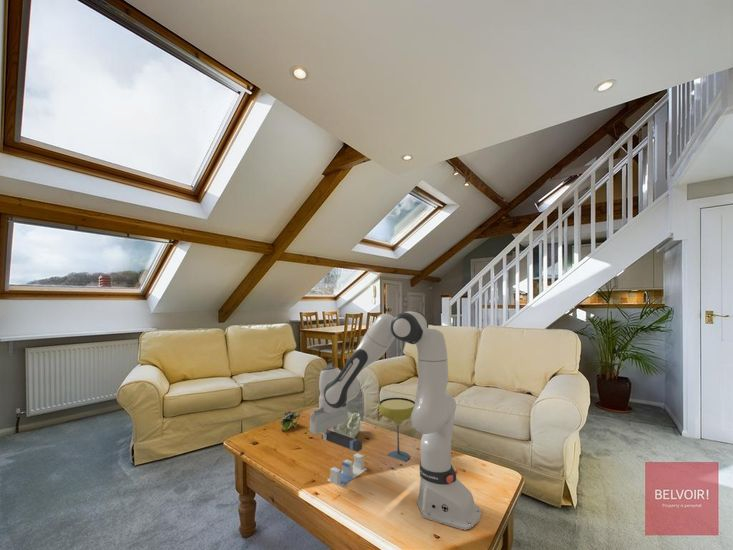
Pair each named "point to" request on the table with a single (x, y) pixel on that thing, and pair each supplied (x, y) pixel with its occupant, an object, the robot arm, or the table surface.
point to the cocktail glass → (397, 418)
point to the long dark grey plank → (344, 441)
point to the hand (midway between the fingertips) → (329, 437)
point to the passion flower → (289, 420)
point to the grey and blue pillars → (347, 470)
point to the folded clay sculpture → (350, 425)
